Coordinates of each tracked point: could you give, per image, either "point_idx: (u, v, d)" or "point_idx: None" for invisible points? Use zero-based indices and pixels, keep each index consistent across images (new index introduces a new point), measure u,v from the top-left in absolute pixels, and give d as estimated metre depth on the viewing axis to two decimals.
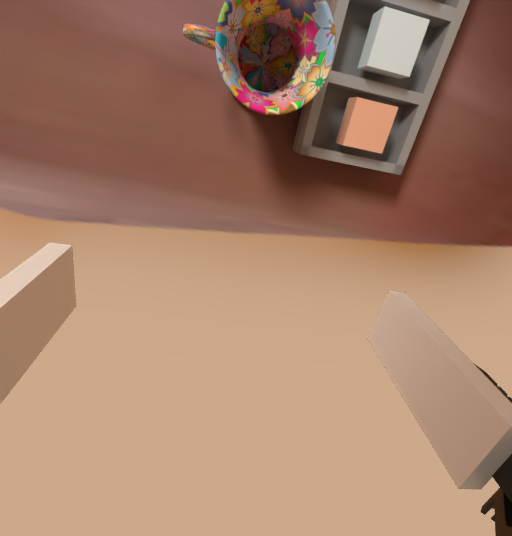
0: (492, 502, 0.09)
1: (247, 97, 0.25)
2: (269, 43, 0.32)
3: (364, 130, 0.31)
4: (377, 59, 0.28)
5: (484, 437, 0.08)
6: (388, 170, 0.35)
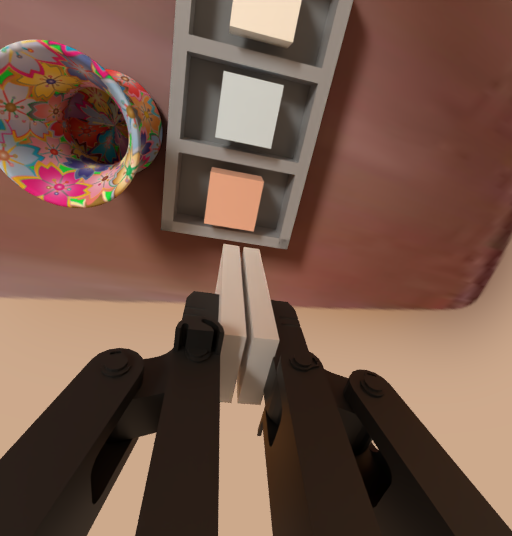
0: (262, 423, 0.09)
1: (44, 187, 0.21)
2: None
3: (227, 207, 0.26)
4: (226, 130, 0.23)
5: (247, 352, 0.09)
6: (271, 244, 0.30)
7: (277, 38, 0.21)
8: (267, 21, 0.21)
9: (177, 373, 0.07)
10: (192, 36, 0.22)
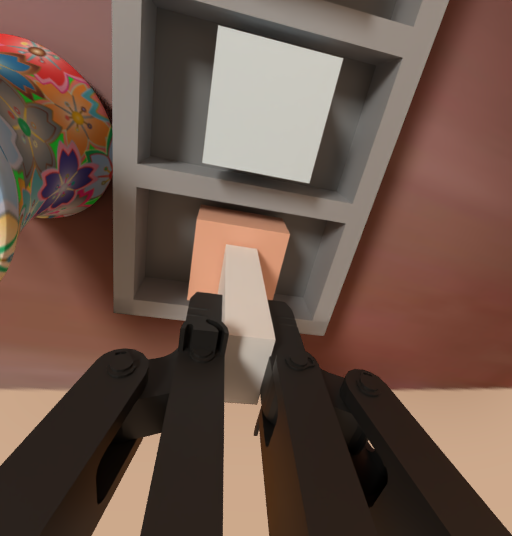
0: (258, 423, 0.09)
1: None
2: None
3: None
4: (225, 149, 0.12)
5: None
6: None
7: None
8: None
9: (182, 373, 0.07)
10: None
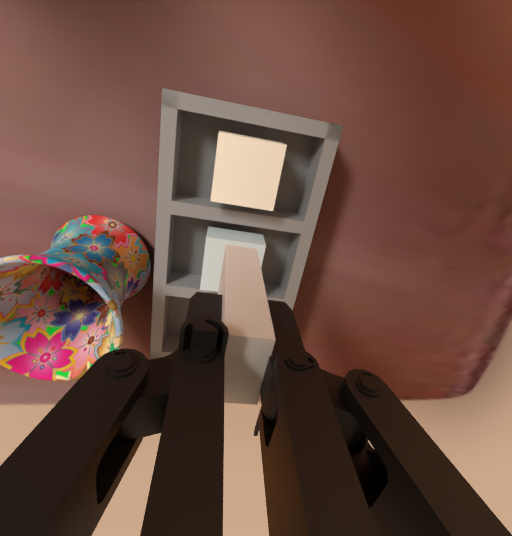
0: (258, 423, 0.09)
1: (29, 362, 0.21)
2: None
3: None
4: (211, 283, 0.24)
5: None
6: None
7: (257, 208, 0.22)
8: (247, 196, 0.21)
9: (182, 373, 0.07)
10: (175, 202, 0.22)
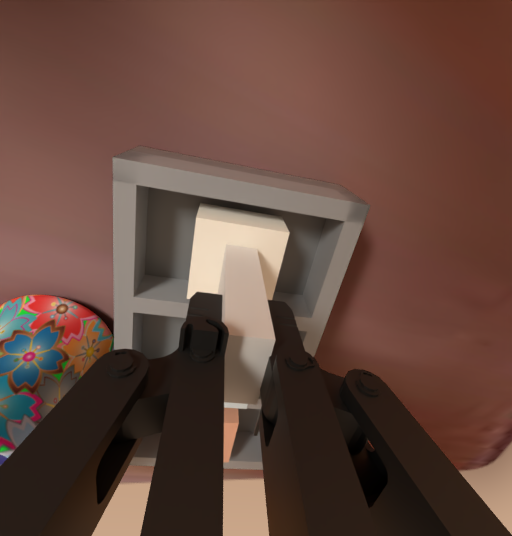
0: (258, 423, 0.09)
1: None
2: None
3: None
4: None
5: None
6: (252, 467, 0.24)
7: None
8: None
9: (182, 373, 0.07)
10: (139, 298, 0.16)
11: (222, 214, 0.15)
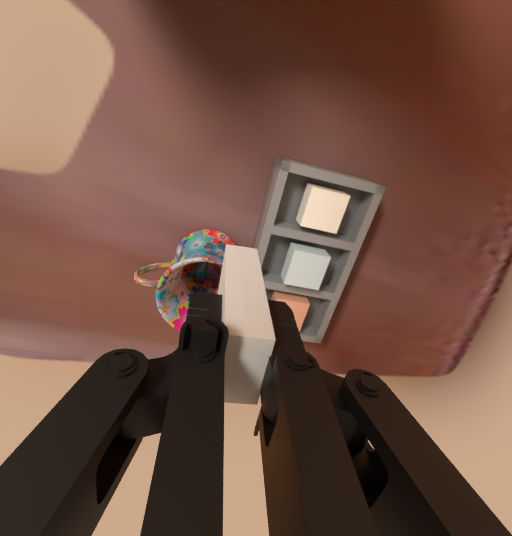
0: (258, 423, 0.09)
1: (182, 324, 0.33)
2: None
3: None
4: (291, 280, 0.36)
5: None
6: (310, 340, 0.42)
7: (327, 231, 0.35)
8: (322, 224, 0.34)
9: (182, 373, 0.07)
10: (275, 226, 0.35)
11: (320, 187, 0.34)
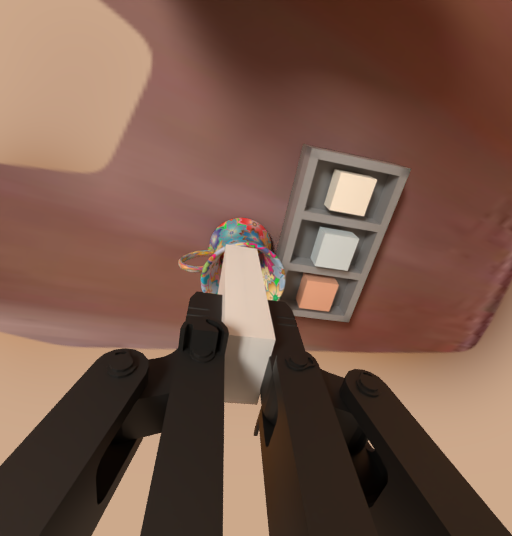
0: (258, 423, 0.09)
1: None
2: None
3: (314, 298, 0.42)
4: (322, 262, 0.38)
5: None
6: (338, 319, 0.45)
7: (355, 214, 0.37)
8: (351, 207, 0.36)
9: (182, 373, 0.07)
10: (306, 212, 0.37)
11: (347, 172, 0.36)
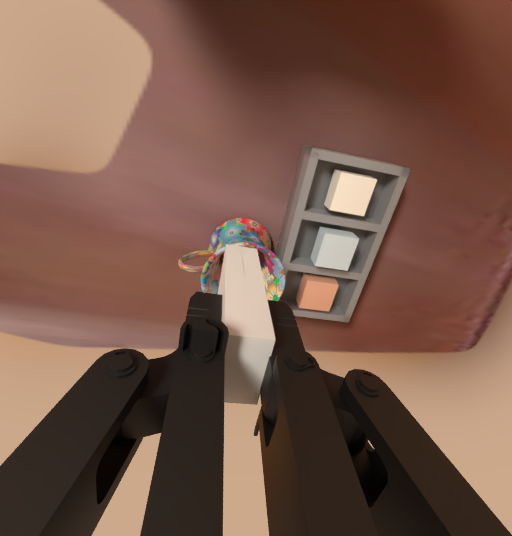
0: (258, 423, 0.09)
1: None
2: None
3: (314, 298, 0.42)
4: (322, 262, 0.38)
5: None
6: (338, 319, 0.45)
7: (355, 214, 0.37)
8: (351, 207, 0.36)
9: (182, 373, 0.07)
10: (306, 212, 0.37)
11: (347, 172, 0.36)
